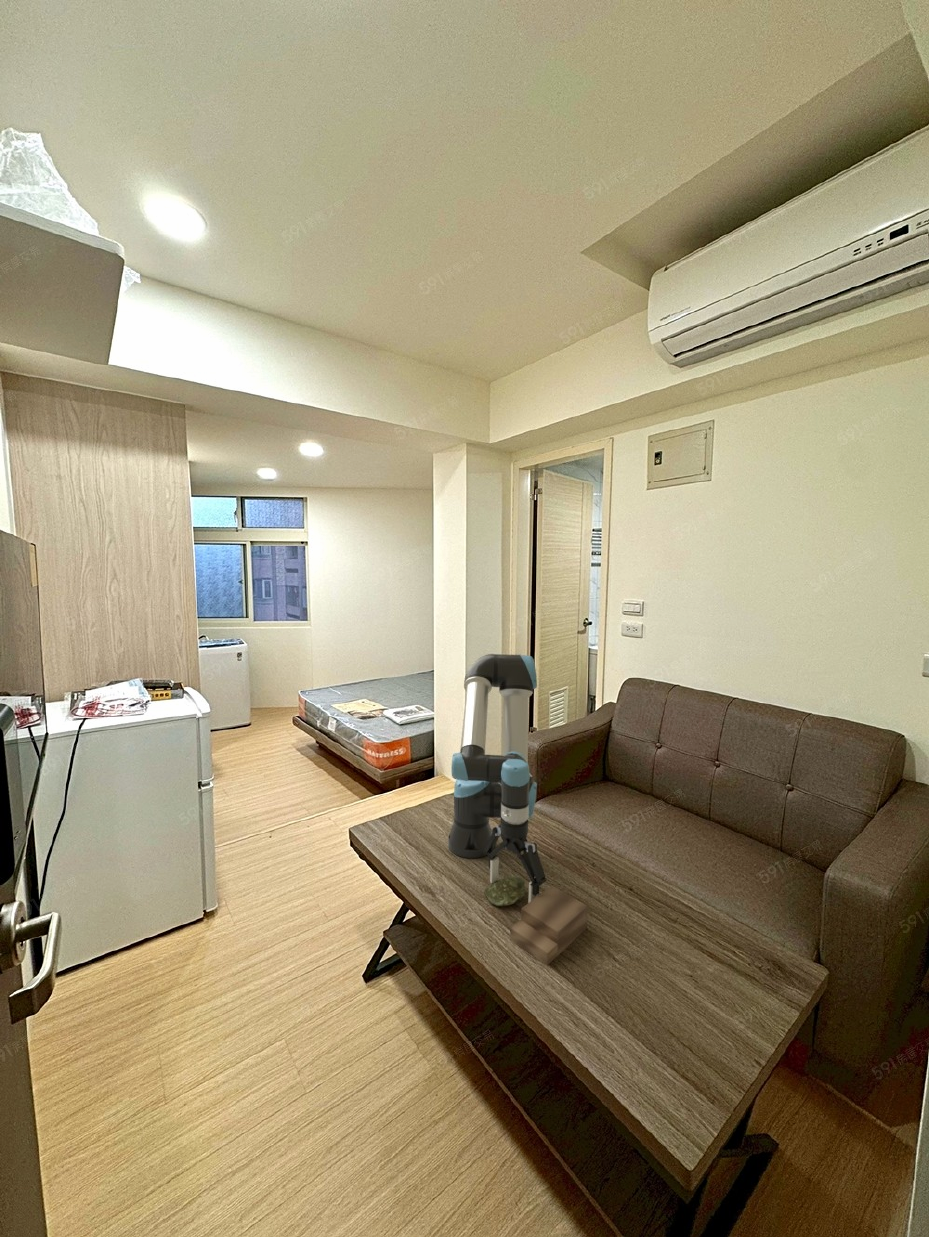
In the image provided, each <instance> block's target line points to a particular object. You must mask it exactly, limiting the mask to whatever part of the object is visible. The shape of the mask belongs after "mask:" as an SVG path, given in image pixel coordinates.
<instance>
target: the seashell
mask: <svg viewBox="0 0 929 1237" xmlns="http://www.w3.org/2000/svg"><path fill="white" fill-rule="evenodd" d="M525 884H526V881H525V879H524V878H523V877H521V876H518V875H514V876H510V877H505V878H501V879H498V880H497V881H495V882H494V883H490V884H488V886H487V887H486V888H485V889H484V895H485V896H486V897H487V900H488V901H489V903H490V904H491V905H494V906H496V907H504V906H511V905H513V904H515V903H516V902H518V901H519V900H521V899H522V898H524V896H525V893H526V891H527V886H526V885H525Z"/></svg>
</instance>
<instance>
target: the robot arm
mask: <svg viewBox="0 0 929 1237" xmlns="http://www.w3.org/2000/svg"><path fill="white" fill-rule="evenodd" d="M463 681H464V682H463V688H464V690H465V692H466V693H465V701H464V710H463V719H462V732H461V741H460V748H459V749H460V751H459V752H455V753H453V755H452V756H451V757H452V759H451V769H450V770H451V777H452V778H453V779H454V780H455V782H454V790H453V823H452V826H451V828H450V832H449V835H448V838H447V847H448V849H449V851H450V852H451V853H453V854H454V855H456V856H458V857H461V858H466V859H478V858H482V857H485V856H487V859H488V869H489V882H490V884H491V883H494V882H495V881H497V880H499V863H500V858H499V857H498V855H499V854H500V853H501V852H502V851H503V850H504V849H506V850H507V851H508V852H511V853H513V854H514V855H516V858H518V859H519V860H520V862H521V864H522V866H523V867H524V869H525V872H526V874H527V876H528V878H529V880H530V881H529V882H528V898H527V899H528V900H527V901H528V902H527V904H528V903H529V902H530V901H532V900H533V899H534V898H536V897H537V896H538V895H540V886H542V885H543V884H545V883H546V882H547V877H546V875H545V871H544V868H543V865H542V863H541V859H540V856H539V853H538V844H537V843H536V842H533V843H531V842H529V841H528V839H527V837H528V832H529V820H530V819H531V818H533V815H534V811H535V806H536V798H537V789H538V788H537V786H538V784H537V782H536V781H533V775H532V774H531V773H530V765H529V761H528V759H529V758H528V756H529V698H530V697H531V696H532V694H533V692H534V690H535V689H537V687H538V678H537V669H536V664H535V660H534V658H533V656H531V655H525V654H521V653H520V654H503V653H502V654H500V653H499V654H497V653H490V654H489V653H488V654H485V655H483V656H481V657H479V658H478V659H477V660H475V661H474V662H473V663H472V664H471V665H470V667H469V668H468V670H467V671H466V674H465V677H464V680H463ZM492 688H498V689H499V691H498V693H499V694H500V695H501V696H502V698H503V699H502V700H503V701H502V736H501V737H502V743H501V745H502V746H501V747H502V748H501V754H498V755H497V754H486V744H487V742H486V741H487V726H488V724H487V722H488V720H487V719H488V709H489V708H488V706H489V693H491V691H492ZM490 818H492V819H500V822H499V823H500V824H499V825H497V826H494V827H493V828H491V825H490ZM500 837H501V840H502V842H500V843H499V844H498V846H497V847H496V848H495V846H496V843H497V842H498V840H499V838H500ZM522 852H523V853H522Z"/></svg>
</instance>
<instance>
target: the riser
mask: <svg viewBox="0 0 929 1237" xmlns="http://www.w3.org/2000/svg"><path fill="white" fill-rule="evenodd" d="M588 908H589V906H588V905H587V904H586V903H583V902H581V901H580V900H578V899H577V898H574V897H573V896H572V895H569V894H567V893H566V892H565V891H562V890H561V889H559V888H557V887H555V886H554V885H551V886H549V887H547V888H546V889H545V890H544V891H542V892H541V893H539V894H538V895H537V897H536V898H534V899H533V900H532V901H530V902H529V903H528V902H527V903H526V905H524V906H523V907H521V909H520V910H521V911H520V920H519V921H517V922H516V923H515V924H514V925H512V926H511V927H510V930H509V931H510V940H511V941H512V942H513V943H515V944H516V945H517V946H519V947H521V948H522V949H523V950H524V951H526V952H528V953H529V954H530V955H532V956H533V957H534V958H536V959H538V961H540V962H541V963H543V964H544V965H546V966H548V965H550V964H551V963H552V962H553V961H554V960H555V959H556V958H557V957H558V956H559V955H561V954H562V952H564V951H565V949H566V948H568V947H569V946H570V944H572V943H573V942H574V941H575V940H576V939H577V938H578V937H579V936H580V935H582V934H583V933H584V932H585V931H586V930H587V929H588V913H589V912H588V910H589V909H588Z"/></svg>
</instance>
